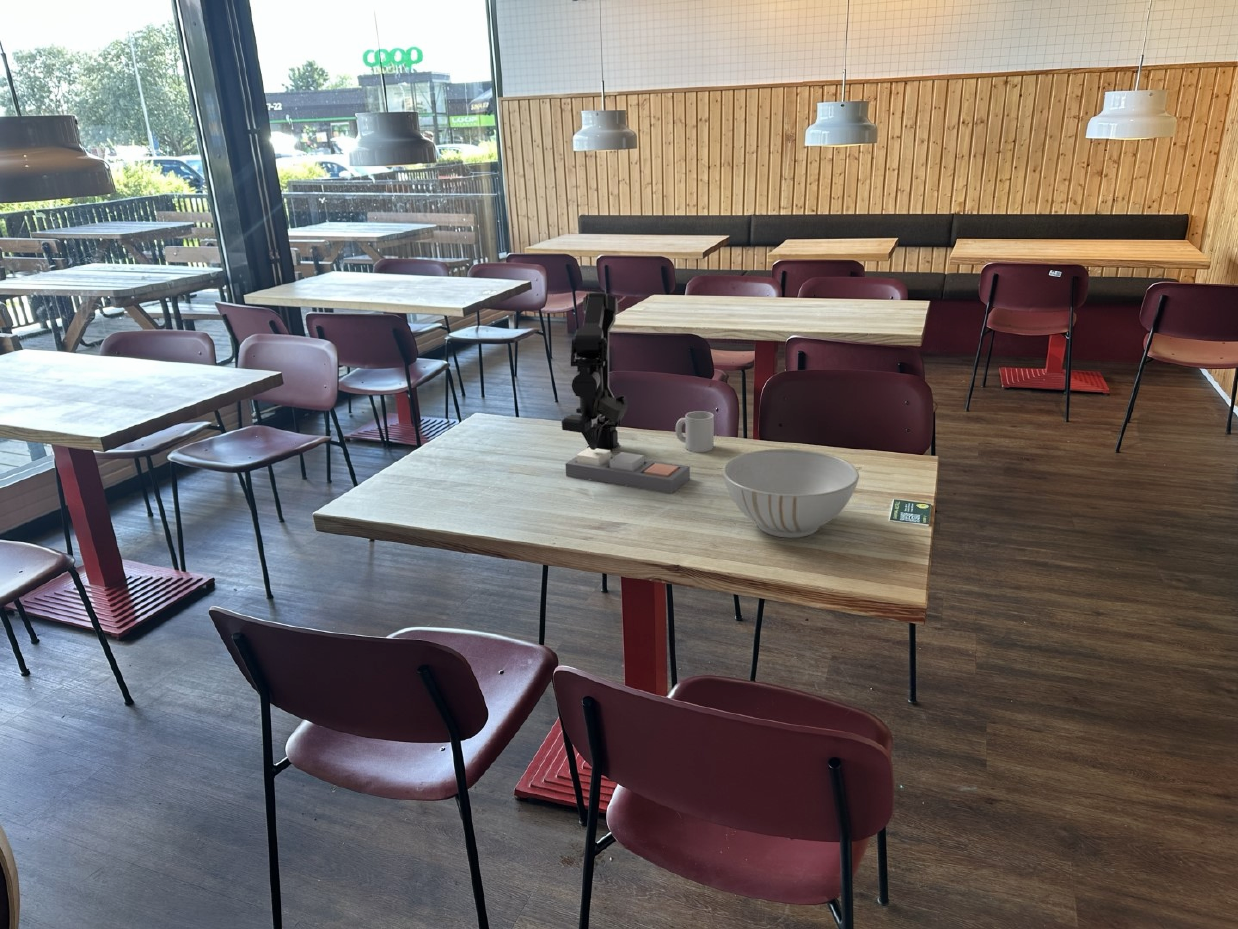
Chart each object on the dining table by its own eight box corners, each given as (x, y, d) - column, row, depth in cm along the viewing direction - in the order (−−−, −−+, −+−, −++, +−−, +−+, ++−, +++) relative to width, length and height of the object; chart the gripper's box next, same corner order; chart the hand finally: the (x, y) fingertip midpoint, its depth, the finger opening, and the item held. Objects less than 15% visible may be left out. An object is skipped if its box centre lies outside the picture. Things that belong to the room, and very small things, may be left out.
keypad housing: (566, 475, 210) (565, 463, 209) (586, 462, 218) (586, 450, 217) (671, 493, 197) (671, 480, 196) (689, 478, 206) (689, 466, 205)
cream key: (576, 464, 210) (576, 454, 209) (589, 456, 215) (589, 447, 214) (598, 467, 207) (598, 458, 206) (610, 459, 212) (610, 450, 211)
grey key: (609, 469, 206) (609, 459, 205) (621, 461, 211) (621, 452, 210) (632, 473, 203) (632, 463, 202) (643, 464, 208) (643, 455, 207)
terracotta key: (644, 481, 202) (643, 471, 202) (655, 472, 207) (655, 463, 206) (667, 484, 200) (667, 475, 199) (678, 476, 205) (678, 466, 204)
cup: (709, 453, 222) (709, 420, 219) (671, 450, 225) (671, 417, 222) (716, 445, 228) (716, 412, 225) (679, 441, 231) (679, 409, 228)
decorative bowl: (755, 563, 164) (756, 503, 160) (702, 510, 188) (703, 457, 184) (881, 542, 171) (886, 484, 167) (815, 493, 195) (817, 442, 191)
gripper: (601, 400, 193) (603, 466, 199) (639, 380, 209) (640, 442, 214) (558, 395, 198) (562, 459, 204) (598, 375, 214) (601, 436, 219)
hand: (593, 449), depth 210 cm, fingers closed
